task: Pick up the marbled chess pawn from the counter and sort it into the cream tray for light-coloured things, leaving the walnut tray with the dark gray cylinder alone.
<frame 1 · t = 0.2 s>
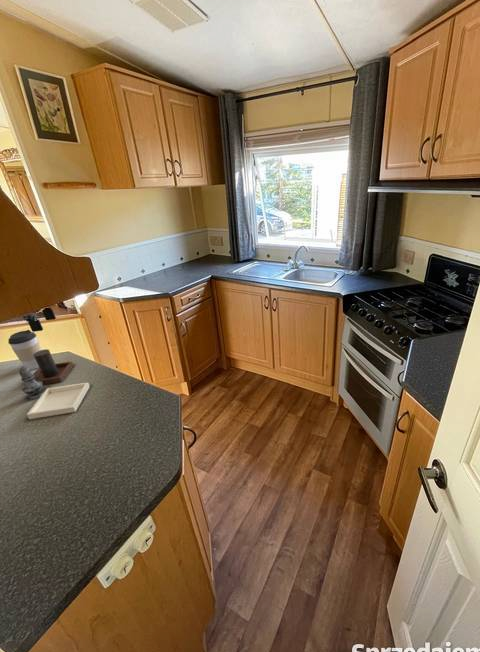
hand: (44, 324, 103), 22 cm above the countertop, tool pointing down, fingers open, 9 cm apart
light tray: (61, 401, 99), on the countertop
dark tray: (51, 375, 114), on the countertop
coffee cup: (35, 365, 122), on the countertop
marbled chess pawn: (36, 395, 104), on the countertop
dark gray cylinder: (51, 374, 114), resting on dark tray
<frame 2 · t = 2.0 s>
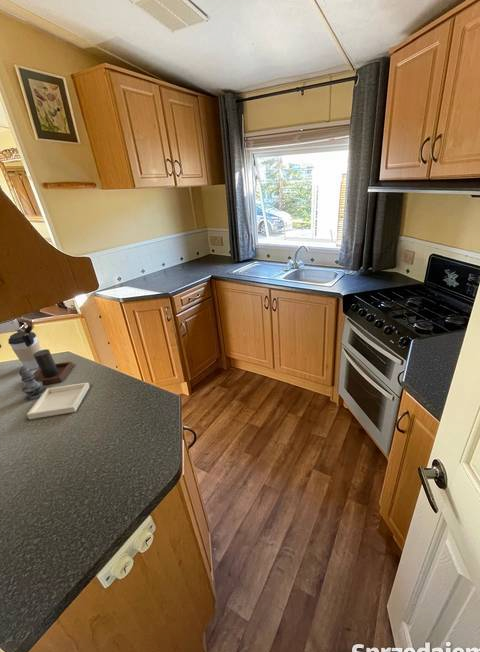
hand: (14, 347, 95), 19 cm above the countertop, tool pointing down, fingers open, 9 cm apart
nothing on the countertop moved.
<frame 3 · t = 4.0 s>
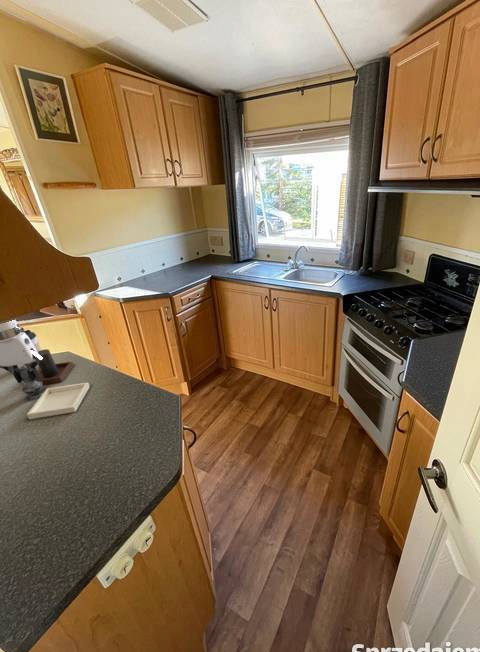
hand: (28, 379, 101), 7 cm above the countertop, tool pointing down, fingers closed on marbled chess pawn, 3 cm apart
marbled chess pawn: (36, 395, 104), on the countertop, touching gripper
everything else where it was.
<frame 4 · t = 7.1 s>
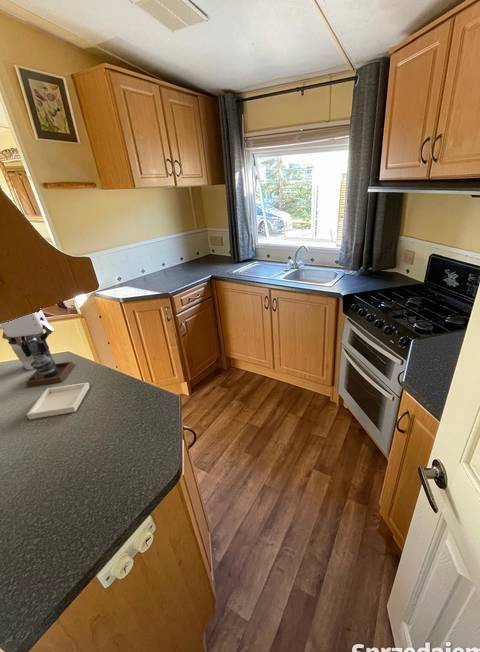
hand: (37, 353, 91), 19 cm above the countertop, tool pointing down, fingers closed on marbled chess pawn, 3 cm apart
marbled chess pawn: (46, 371, 94), point 12 cm above the countertop, touching gripper
everything else where it was.
when the fingers open (7 cm above the countertop, at t = 10.1 s): marbled chess pawn stays where it is, resting on light tray.
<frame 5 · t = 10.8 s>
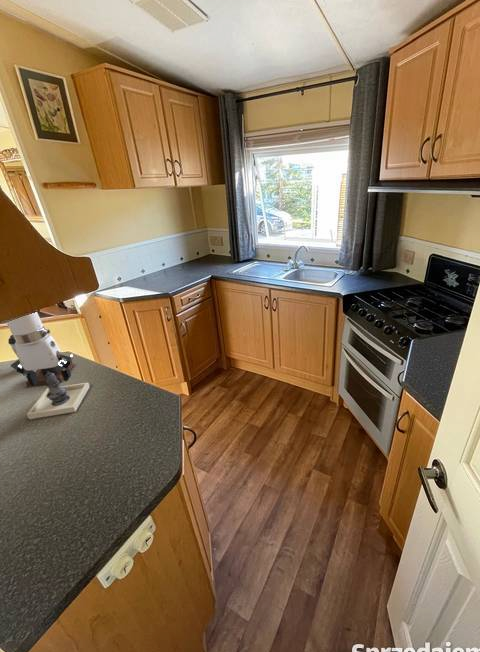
hand: (51, 381, 95), 9 cm above the countertop, tool pointing down, fingers open, 9 cm apart
marbled chess pawn: (61, 401, 99), resting on light tray
everything else where it was.
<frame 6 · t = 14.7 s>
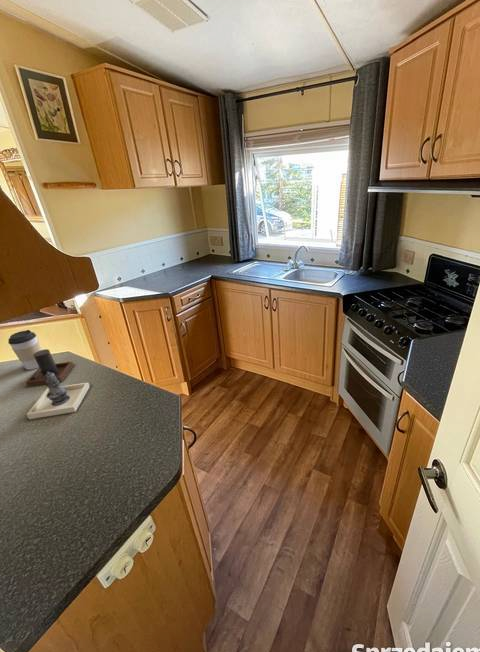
nothing on the countertop moved.
at the end: marbled chess pawn inside the target area in the light tray (0.1 cm from its centre), point 0.3 cm above the light tray's base; marbled chess pawn tilted 0°; the gripper is holding nothing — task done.
